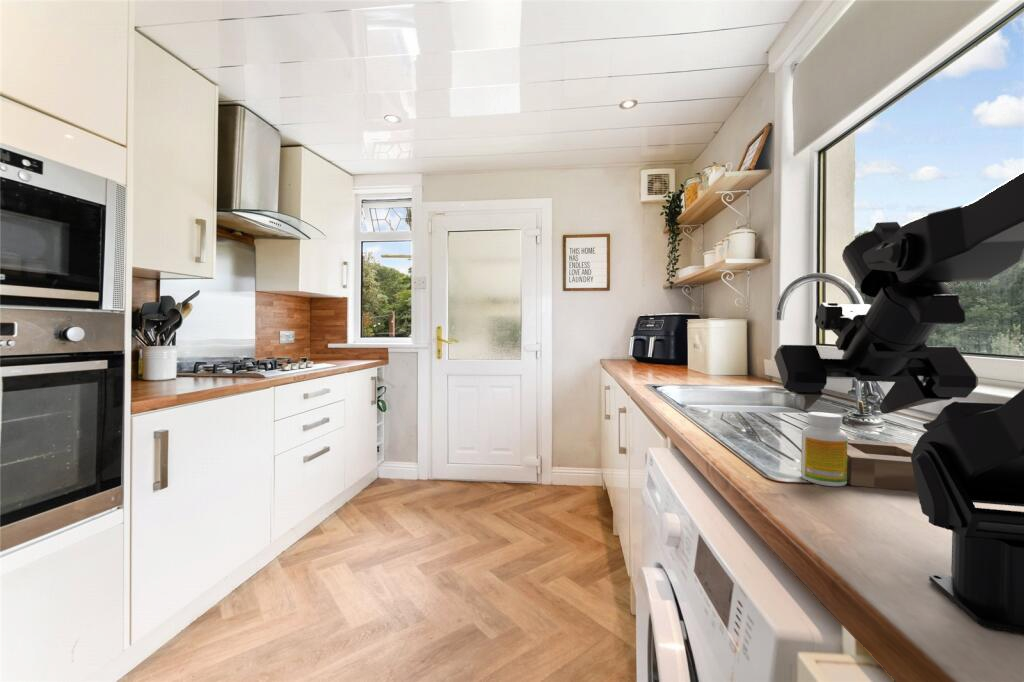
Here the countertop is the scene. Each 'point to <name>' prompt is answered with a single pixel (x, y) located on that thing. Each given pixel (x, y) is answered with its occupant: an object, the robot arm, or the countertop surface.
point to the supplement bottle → (824, 450)
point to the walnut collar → (880, 465)
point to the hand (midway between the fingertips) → (841, 409)
